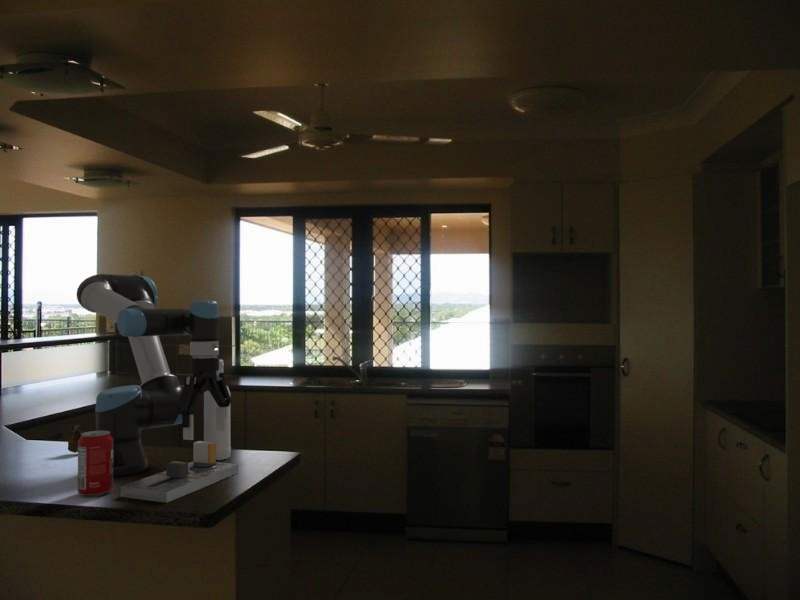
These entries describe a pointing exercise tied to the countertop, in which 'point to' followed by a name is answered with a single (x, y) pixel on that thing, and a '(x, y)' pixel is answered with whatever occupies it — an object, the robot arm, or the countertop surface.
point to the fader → (176, 469)
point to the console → (177, 483)
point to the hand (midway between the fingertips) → (205, 434)
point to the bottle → (210, 424)
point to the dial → (204, 454)
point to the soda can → (95, 463)
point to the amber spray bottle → (74, 440)
